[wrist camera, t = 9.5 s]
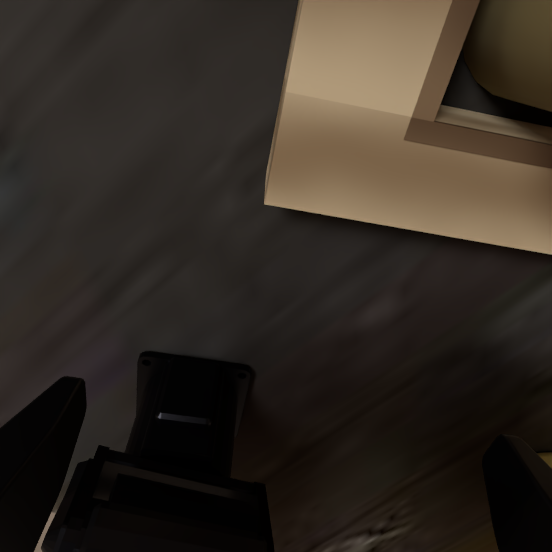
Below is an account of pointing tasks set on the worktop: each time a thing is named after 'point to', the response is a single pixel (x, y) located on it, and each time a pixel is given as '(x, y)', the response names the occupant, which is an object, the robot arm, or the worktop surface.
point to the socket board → (402, 129)
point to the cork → (512, 50)
